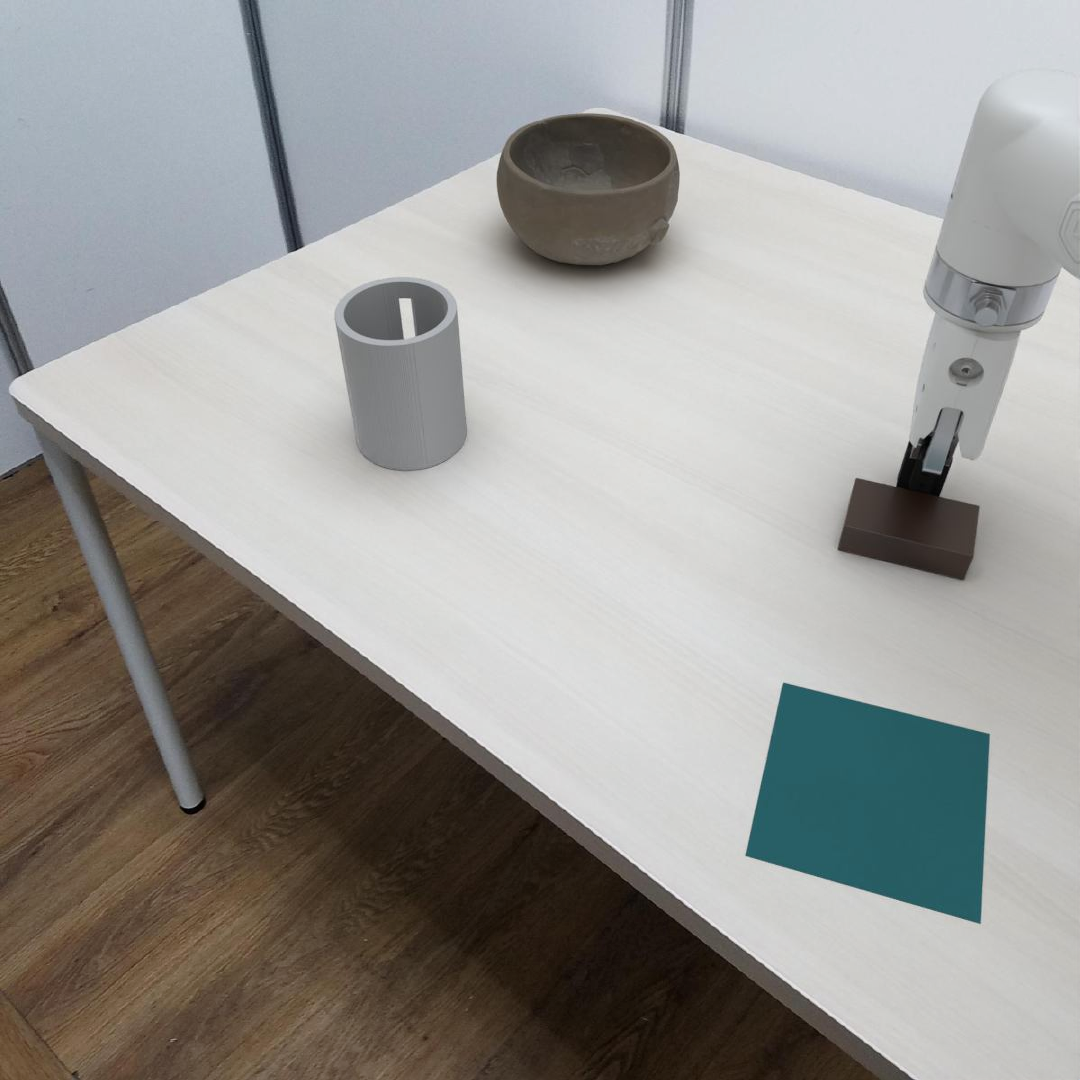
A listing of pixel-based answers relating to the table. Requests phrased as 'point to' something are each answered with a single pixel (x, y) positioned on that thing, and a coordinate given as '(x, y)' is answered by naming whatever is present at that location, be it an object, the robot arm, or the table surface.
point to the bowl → (588, 187)
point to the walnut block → (910, 528)
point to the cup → (403, 372)
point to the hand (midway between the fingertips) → (917, 489)
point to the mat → (875, 801)
